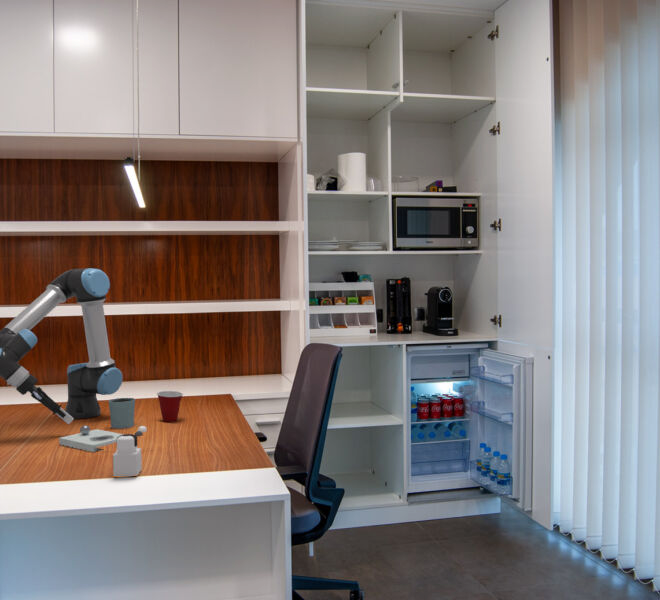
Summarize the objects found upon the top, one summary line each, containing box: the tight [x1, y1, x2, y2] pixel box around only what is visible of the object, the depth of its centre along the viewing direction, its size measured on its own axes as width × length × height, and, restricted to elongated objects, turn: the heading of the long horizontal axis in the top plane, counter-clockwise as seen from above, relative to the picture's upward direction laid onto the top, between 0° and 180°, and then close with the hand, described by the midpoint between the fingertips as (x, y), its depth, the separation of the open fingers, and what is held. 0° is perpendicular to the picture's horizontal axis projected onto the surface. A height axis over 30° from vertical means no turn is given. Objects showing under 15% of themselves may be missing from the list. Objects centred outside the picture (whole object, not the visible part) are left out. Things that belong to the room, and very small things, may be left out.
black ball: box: [134, 430, 144, 437], centre depth 247 cm, size 3×3×3 cm
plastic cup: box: [156, 390, 184, 423], centre depth 277 cm, size 11×11×12 cm
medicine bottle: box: [112, 433, 143, 477], centre depth 202 cm, size 7×7×12 cm
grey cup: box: [108, 397, 136, 430], centre depth 262 cm, size 10×10×12 cm
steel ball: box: [79, 424, 91, 435], centre depth 244 cm, size 4×4×4 cm
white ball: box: [137, 425, 148, 433], centre depth 253 cm, size 4×4×4 cm
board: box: [58, 428, 124, 453], centre depth 240 cm, size 20×16×2 cm
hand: (71, 421), depth 254 cm, fingers closed
